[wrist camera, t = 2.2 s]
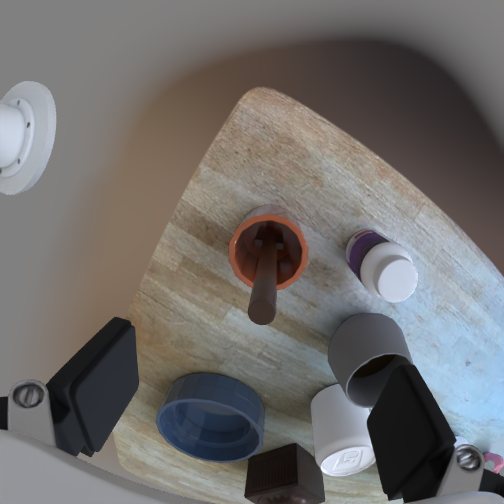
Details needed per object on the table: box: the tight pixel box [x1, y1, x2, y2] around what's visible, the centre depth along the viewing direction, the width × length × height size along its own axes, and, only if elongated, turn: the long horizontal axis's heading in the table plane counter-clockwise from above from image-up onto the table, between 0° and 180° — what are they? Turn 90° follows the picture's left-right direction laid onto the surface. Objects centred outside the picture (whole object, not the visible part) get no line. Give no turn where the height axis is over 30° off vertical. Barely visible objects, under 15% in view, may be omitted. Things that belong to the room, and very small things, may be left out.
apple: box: [483, 452, 503, 474], centre depth 38 cm, size 10×9×10 cm
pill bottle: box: [346, 229, 418, 303], centre depth 27 cm, size 5×5×10 cm
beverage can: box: [311, 384, 376, 476], centre depth 32 cm, size 8×8×12 cm
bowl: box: [156, 373, 265, 463], centre depth 37 cm, size 15×15×6 cm
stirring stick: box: [248, 231, 284, 325], centre depth 23 cm, size 3×1×18 cm, turn 82°
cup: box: [328, 313, 413, 408], centre depth 29 cm, size 10×9×10 cm
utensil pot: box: [229, 205, 308, 290], centre depth 28 cm, size 7×7×8 cm
